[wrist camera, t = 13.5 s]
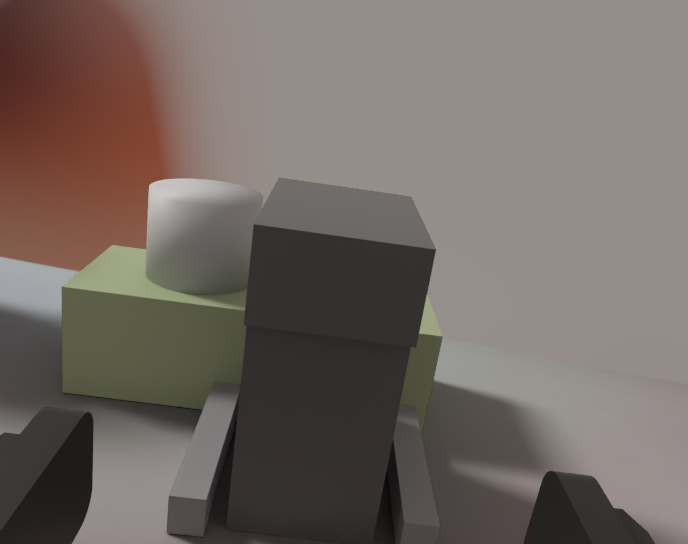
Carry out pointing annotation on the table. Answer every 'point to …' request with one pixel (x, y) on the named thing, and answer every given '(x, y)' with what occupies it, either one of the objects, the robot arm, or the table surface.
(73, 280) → the pale green boxy piece
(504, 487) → the table surface
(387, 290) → the grey lidded box
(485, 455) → the table surface
